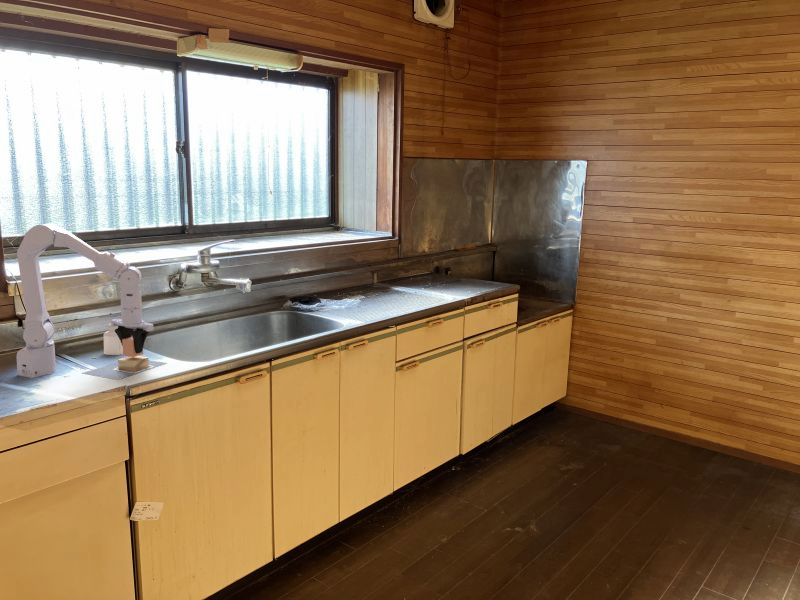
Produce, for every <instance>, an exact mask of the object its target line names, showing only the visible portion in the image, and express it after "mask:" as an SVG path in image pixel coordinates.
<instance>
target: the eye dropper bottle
mask: <svg viewBox="0 0 800 600" xmlns="http://www.w3.org/2000/svg"><path fill="white" fill-rule="evenodd" d="M107 328H108V330H107V331H105V332H104V333H103V353H104V355H107V356H108V355H109V356H120V355H123V347H122V344H121V341H120V339H119V337H118V335H117V334H116V333H115V329H118V326H111V322H109V323H108V327H107Z"/></svg>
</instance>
